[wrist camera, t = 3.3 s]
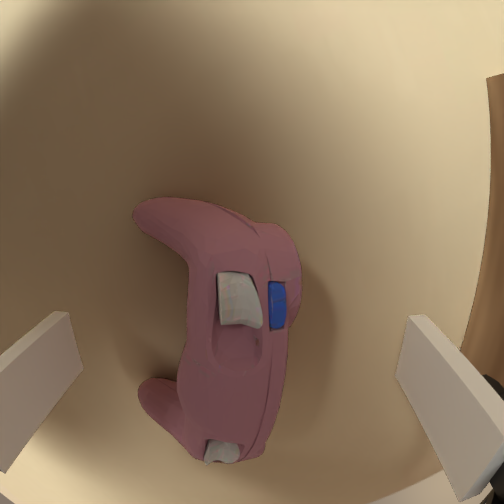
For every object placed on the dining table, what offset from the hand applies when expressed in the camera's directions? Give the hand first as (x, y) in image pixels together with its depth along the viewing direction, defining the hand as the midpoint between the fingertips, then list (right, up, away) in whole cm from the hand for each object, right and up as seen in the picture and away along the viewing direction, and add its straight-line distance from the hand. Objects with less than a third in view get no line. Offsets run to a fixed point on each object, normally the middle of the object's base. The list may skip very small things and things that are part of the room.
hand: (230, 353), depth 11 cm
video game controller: (-1, +1, +2) cm, 3 cm away
